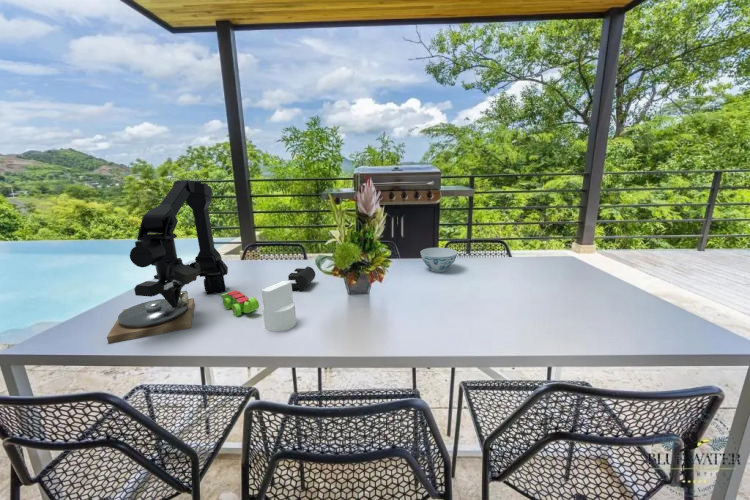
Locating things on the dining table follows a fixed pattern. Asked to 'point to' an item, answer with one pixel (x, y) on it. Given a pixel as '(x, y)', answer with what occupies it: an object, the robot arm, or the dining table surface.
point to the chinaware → (438, 258)
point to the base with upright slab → (278, 307)
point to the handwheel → (153, 312)
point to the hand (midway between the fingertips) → (175, 307)
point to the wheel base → (151, 327)
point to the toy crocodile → (239, 302)
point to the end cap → (301, 278)
